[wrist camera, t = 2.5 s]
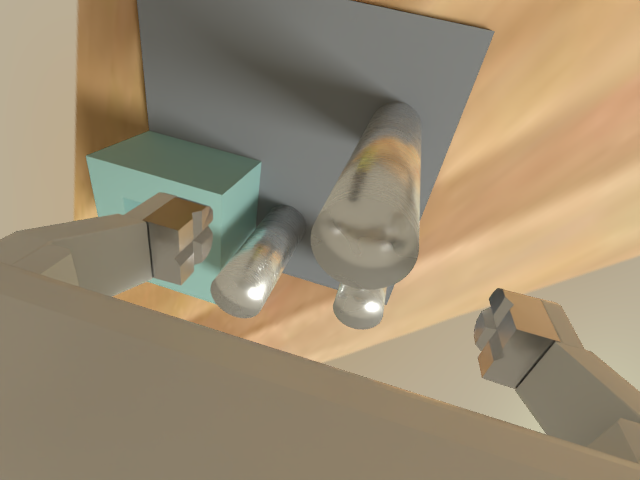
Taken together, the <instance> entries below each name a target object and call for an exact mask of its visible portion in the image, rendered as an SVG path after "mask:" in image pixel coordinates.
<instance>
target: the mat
mask: <svg viewBox="0 0 640 480" xmlns="http://www.w3.org/2000/svg"><path fill="white" fill-rule="evenodd" d="M137 7H138V17H139V28H140V38H141V49H142V60H143V70H144V81H145V91H146V102H147V112H148V123H149V131H152V132H156V133H159V134H163V135H167V136H170V137H174V138H178V139H181V140H185V141H188V142H192V143H196V144H199V145H203V146H207V147H210V148H214V149H218V150H221V151H225V152H229V153H232V154H236V155H240V156H243V157H247V158H250V159H254V160H258V161H261V173H260V184H259V195H258V207H257V218H256V228H257V226H258V225H259V224H260V223H261V221H262V220H263V219H264V218H265V217H266V215H267V214H268V213H269V212H270V210H271V209H272V208H274V207H276V206H278V205H288V206H291V207H294V208H295V209H297V210H298V211H299V212H300V213H301V214H302V215H303V217H304V219H305V222H306V230H305V233H304V235H303V236H302V238H301V240H300V242H299V244H298V245H297V247H296V249H295V251H294V252H293V254H292V256H291V258H290V259H289V261H288V263H287V265H286V266H285V268H284V270H283V272H282V273H285V274H288V275H291V276H294V277H298V278H301V279H304V280H307V281H310V282H314V283H317V284H320V285H323V286H327V287H330V288H333V289H336V290H338V288H339V285H340V282H338V281H337V280H335V279H333V278H332V277H331V276H329V275H328V274H327V273H326V272H325V271H324V270H323V269H322V268H321V266H320V265H319V264H318V262H317V261H316V259H315V256H314V254H313V251H312V247H311V231H312V228H313V225H314V223H315V221H316V219H317V217H318V215H319V213H320V211H321V210H322V208H323V206H324V204H325V202H326V200H327V199H328V197H329V195H330V193H331V191H332V189H333V188H334V186H335V184H336V182H337V180H338V179H339V177H340V175H341V173H342V171H343V169H344V168H345V166H346V164H347V162H348V160H349V158H350V157H351V155H352V153H353V151H354V149H355V147H356V146H357V144H358V142H359V140H360V138H361V137H362V135H363V133H364V131H365V129H366V127H367V126H368V124H369V122H370V120H371V118H372V116H373V115H374V113H375V112H376V111H377V110H378V109H379V108H380V107H382V106H383V105H385V104H388V103H391V102H402V103H406V104H408V105H410V106H411V107H413V108H414V109H415V110H416V112H417V113H418V115H419V117H420V120H421V171H420V217H419V221H420V219H421V216H422V214H423V211H424V209H425V206H426V204H427V201H428V199H429V196H430V194H431V191H432V189H433V186H434V183H435V181H436V178H437V176H438V173H439V171H440V168H441V166H442V163H443V161H444V158H445V156H446V153H447V151H448V148H449V146H450V143H451V141H452V138H453V135H454V133H455V130H456V128H457V125H458V123H459V120H460V118H461V115H462V113H463V110H464V108H465V105H466V103H467V100H468V98H469V95H470V93H471V90H472V88H473V85H474V82H475V80H476V77H477V75H478V72H479V70H480V67H481V65H482V62H483V60H484V57H485V55H486V52H487V50H488V47H489V45H490V42H491V40H492V37H493V34H494V32H495V31H491V30H486V29H481V28H477V27H472V26H467V25H463V24H458V23H453V22H449V21H444V20H439V19H435V18H430V17H426V16H421V15H416V14H412V13H407V12H402V11H398V10H393V9H388V8H384V7H379V6H374V5H370V4H365V3H360V2H356V1H351V0H137ZM394 285H395V284H394ZM394 285H391V286H389V287H387V289H386V296H385V303H384V304H385V305H387V302H388V300H389V297H390V295H391V292H392V290H393V287H394Z"/></svg>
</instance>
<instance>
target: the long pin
mask: <svg viewBox="0 0 640 480" xmlns="http://www.w3.org/2000/svg"><path fill="white" fill-rule="evenodd" d="M420 171H421V120H420V117H419V115H418V113H417V112H416V110H415V109H414V108H413V107H411V106H410V105H408V104H406V103H402V102H391V103H388V104H385V105H383V106H382V107H380V108H379V109H378V110H377V111H376V112H375V113H374V115H373V116H372V118H371V120H370V122H369V124H368V126H367V127H366V129H365V131H364V133H363V135H362V137H361V138H360V140H359V142H358V144H357V146H356V147H355V149H354V151H353V153H352V155H351V157H350V158H349V160H348V162H347V164H346V166H345V168H344V169H343V171H342V173H341V175H340V177H339V179H338V180H337V182H336V184H335V186H334V188H333V189H332V191H331V193H330V195H329V197H328V199H327V200H326V202H325V204H324V206H323V208H322V210H321V211H320V213H319V215H318V217H317V219H316V221H315V223H314V225H313V228H312V231H311V247H312V251H313V254H314V256H315V259H316V261H317V262H318V264H319V265H320V266H321V268H322V269H323V270H324V271H325V272H326V273H327V274H328V275H329V276H331V277H332V278H333V279H335V280H337V281H338V282H340V283H342V284H344V285H347V286H350V287H353V288H358V289H367V290H372V289H381V288H385V287H389V286H391V285H394V284H396V283H397V282H399V281H401V280H402V279H403V278H405V277H406V276H407V275H408V274H409V273H410V271H411V270H412V269H413V267H414V265H415V263H416V260H417V257H418V252H419V217H420Z"/></svg>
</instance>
